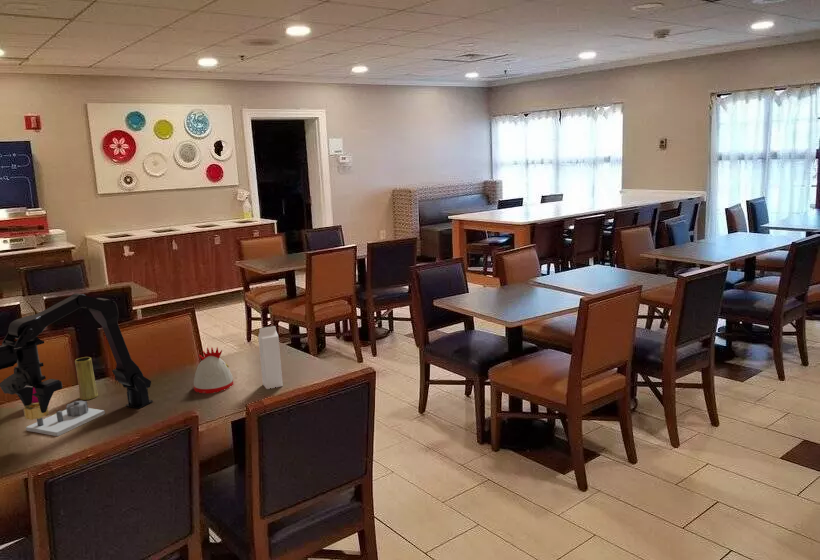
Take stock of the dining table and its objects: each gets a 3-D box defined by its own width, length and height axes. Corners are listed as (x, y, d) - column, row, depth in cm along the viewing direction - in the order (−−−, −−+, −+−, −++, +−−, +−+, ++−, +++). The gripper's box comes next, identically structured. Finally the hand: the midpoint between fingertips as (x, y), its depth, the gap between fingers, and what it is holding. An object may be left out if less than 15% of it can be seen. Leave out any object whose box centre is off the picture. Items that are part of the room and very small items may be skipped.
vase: (90, 400, 228) (84, 362, 225) (75, 400, 229) (69, 361, 226) (101, 394, 234) (96, 356, 231) (87, 393, 235) (81, 356, 232)
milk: (262, 384, 236) (256, 326, 232) (278, 381, 238) (273, 324, 234) (266, 389, 230) (260, 330, 226) (283, 386, 233) (277, 327, 229)
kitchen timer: (232, 390, 231) (228, 350, 228) (192, 395, 228) (187, 355, 225) (234, 378, 244) (230, 340, 241) (196, 382, 242) (192, 344, 239)
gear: (53, 413, 195) (51, 403, 194) (34, 420, 189) (33, 410, 189) (39, 410, 197) (37, 400, 196) (20, 418, 192) (18, 408, 191)
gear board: (105, 413, 215) (102, 399, 214) (57, 436, 199) (55, 420, 198) (75, 409, 220) (72, 394, 219) (26, 430, 204) (23, 415, 203)
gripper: (-20, 367, 186) (-11, 418, 189) (24, 373, 179) (33, 425, 182) (16, 356, 196) (24, 404, 199) (59, 361, 189) (67, 411, 192)
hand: (36, 411), depth 193 cm, fingers closed on gear, 6 cm apart
